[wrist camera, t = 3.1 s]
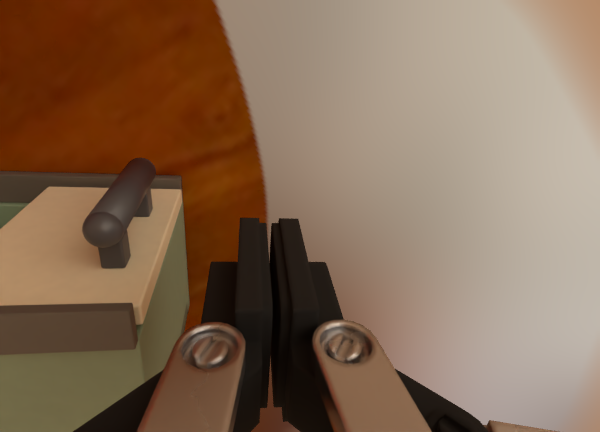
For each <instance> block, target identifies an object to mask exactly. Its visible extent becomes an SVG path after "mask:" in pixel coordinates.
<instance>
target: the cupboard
mask: <svg viewBox="0 0 600 432" xmlns="http://www.w3.org/2000/svg"><path fill="white" fill-rule="evenodd" d="M119 175H120V174H93V173H55V172H17V171H0V229H1V228H2V227H3V226H4V225H6V224H7V223H8V222H9V221H10V220H11V219H12V218H14V217H15V216H16V215H17V214H18V213H19V212H20V211H21V210H23V209H24V208H25V207H26V206H27V205H28V204H29V203H31V202H32V201H33V200H34V199H35V198H36V197H37V196H38V195H40V194H41V193H42V192H43V191H44V190H45V189H46V188H48V187H93V188H110V186H111V185H112V184H113V182H114V181H115V180H116V179H117V177H118V176H119ZM150 187H151V189H180V190H181V191H182V180H181V176H168V175H155V178H154V180H153V182H152V184H151V186H150ZM188 309H189V290H188V274H187V258H186V243H185V227H184V211H183V196H182V204H181V207H180V211H179V214H178V217H177V220H176V223H175V226H174V229H173V232H172V235H171V238H170V242H169V245H168V248H167V251H166V254H165V257H164V260H163V263H162V266H161V269H160V272H159V276H158V279H157V282H156V285H155V288H154V291H153V294H152V297H151V300H150V303H149V306H148V310H147V313H146V316H145V319H144V322H143V324H141V325H136V323H135V316H134V309H133V304H132V303H92V304H48V305H3V306H0V432H73V431H74V430H76V429H77V428H79V427H80V426H82V425H83V424H85V423H86V422H88V421H89V420H90V419H92V418H93V417H95V416H96V415H98V414H99V413H101V412H102V411H104V410H105V409H107V408H108V407H109V406H111V405H112V404H114V403H115V402H117V401H118V400H120V399H121V398H123V397H124V396H126V395H127V394H128V393H130V392H131V391H133V390H134V389H136V388H137V387H139V386H140V385H142V384H143V383H145V382H146V381H148V380H149V379H150V378H152V377H153V376H155V375H156V374H158V373H159V372H161V371H162V370H164V368H165V365H166V363H167V361H168V358H169V356H170V354H171V352H172V349H173V347H174V345H175V343H176V341H177V340H178V338H179V337H180V335H182V334H183V333H184V330H185V324H186V319H187V313H188Z"/></svg>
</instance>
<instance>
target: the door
mask: <svg viewBox="0 0 600 432" xmlns="http://www.w3.org/2000/svg"><path fill="white" fill-rule="evenodd" d="M155 175H156V170H155V167H154V165H153V164H152V163H151V162H150V161H149V160H147V159H145V158H135V159H133V160H131V161H130V162H129V163H128V164H127V166H126V167H125V168H124V169H123V171H122V172H121V173H120V175H119V176H118V177H117V179H116V180H115V181H114V182H113V184H112V185H111V186H110V188H93V187H48V188H46V189H45V190H44V191H43V192H42V193H41V194H40V195H38V196H37V197H36V198H35V199H34V200H33V201H32V202H31V203H29V204H28V205H27V206H26V207H25V208H24V209H23V210H21V211H20V212H19V213H18V214H17V215H16V216H15V217H14V218H12V219H11V220H10V221H9V222H8V223H7V224H6V225H4V226H3V227H2V228H1V229H0V306H3V305H48V304H92V303H132V304H133V309H134V316H135V323H136V325H141V324H143V322H144V319H145V316H146V313H147V310H148V306H149V303H150V300H151V297H152V294H153V291H154V288H155V285H156V282H157V279H158V276H159V272H160V269H161V266H162V263H163V260H164V257H165V254H166V251H167V248H168V245H169V242H170V238H171V235H172V232H173V229H174V226H175V223H176V220H177V217H178V214H179V211H180V207H181V204H182V191H181V190H180V189H151V187H150V186H151V184H152V182H153V180H154V178H155Z"/></svg>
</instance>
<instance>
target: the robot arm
mask: <svg viewBox="0 0 600 432" xmlns="http://www.w3.org/2000/svg"><path fill="white" fill-rule="evenodd" d="M270 355H271V371H272V387H273V404H274V407H282V415H283V422H285V421H288V422H289V423H290V424H292V425H293V426H294V427H295V428H297V429H298V430H299V431H300V432H557V431H551V430H545V429H539V428H533V427H527V426H521V425H515V424H509V423H503V422H497V421H491V420H490V421H489V422H488V424H487V425H482V424H481V423H480V421H479V420H477V419H476V418H475V417H473V416H472V415H471V414H469V413H468V412H466V411H465V410H463V409H461V408H460V407H458V406H456V405H455V404H453V403H451V402H450V401H448V400H446V399H444V398H443V397H441V396H440V395H438V394H436V393H435V392H433V391H431V390H430V389H428V388H426V387H425V386H423V385H421V384H420V383H418V382H416V381H414V380H413V379H411V378H410V377H408V376H406V375H405V374H403V373H401V372H400V371H398V370H396V369H394V367H393V365H392V364H391V362H390V361H389V359H388V357H387V355H386V354H385V352H384V350H383V349H382V347H381V345H380V344H379V342H378V340H377V339H376V337H375V336H374V335H373V334H372V332H371V331H370V330H368V329H367V328H365V327H364V326H363V325H360V324H358V323H355V322H353V321H348V320H344V319H343V316H342V313H341V309H340V306H339V303H338V300H337V297H336V294H335V290H334V287H333V284H332V280H331V277H330V274H329V271H328V268H327V265H326V263H325V262H308V259H307V254H306V250H305V246H304V242H303V238H302V233H301V229H300V225H299V221H298V219H281V218H280V219H279V223H272V226H271V244H270V263H269V252H268V240H267V227H266V223H259V218H240V229H239V249H238V262H211V265H210V271H209V277H208V283H207V289H206V296H205V302H204V308H203V314H202V321H201V324H198V325H196V326H194V327H192V328H190V329H188V330H186V331H185V332H184V333H183V334H182V335H180V337H179V338H178V340H177V341H176V343H175V345H174V347H173V349H172V352H171V354H170V356H169V358H168V361H167V363H166V365H165V368H164V370H162V371H161V372H159V373H158V374H156V375H155V376H153V377H152V378H150V379H149V380H148V381H146V382H145V383H143V384H142V385H140V386H139V387H137V388H136V389H134V390H133V391H131V392H130V393H128V394H127V395H126V396H124V397H123V398H121V399H120V400H118V401H117V402H115V403H114V404H112V405H111V406H109V407H108V408H107V409H105V410H104V411H102V412H101V413H99V414H98V415H96V416H95V417H93V418H92V419H90V420H89V421H88V422H86V423H85V424H83V425H82V426H80V427H79V428H77V429H76V430H74V431H73V432H251V431H252V430H253V429H254V427H256V425H257V424H258V423H259V419H260V408H267V401H268V385H269V369H270V368H269V367H270Z"/></svg>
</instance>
